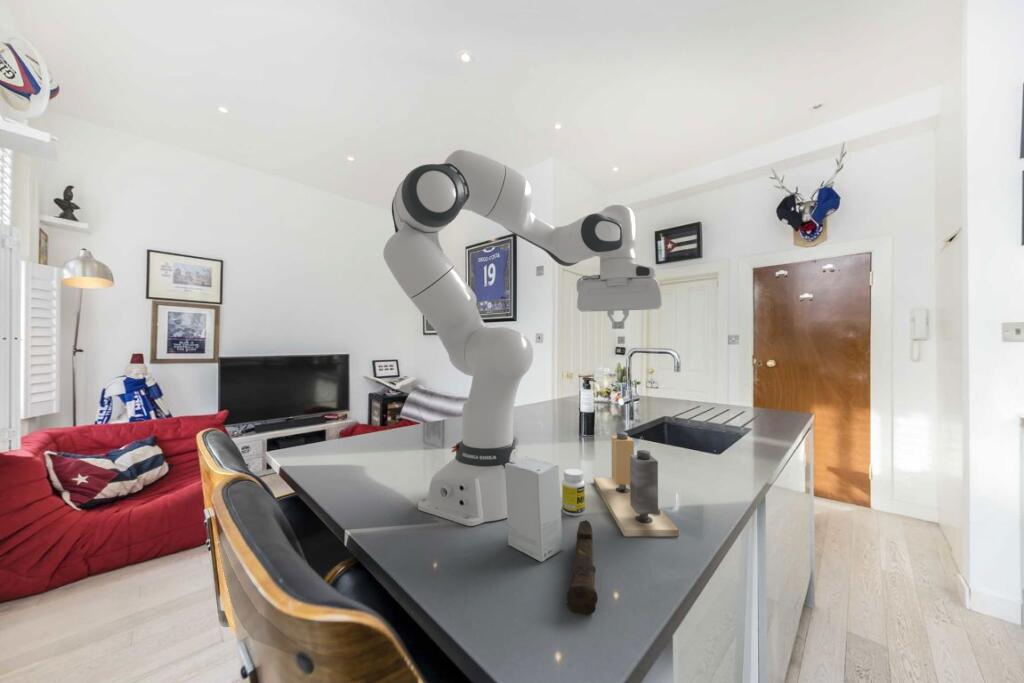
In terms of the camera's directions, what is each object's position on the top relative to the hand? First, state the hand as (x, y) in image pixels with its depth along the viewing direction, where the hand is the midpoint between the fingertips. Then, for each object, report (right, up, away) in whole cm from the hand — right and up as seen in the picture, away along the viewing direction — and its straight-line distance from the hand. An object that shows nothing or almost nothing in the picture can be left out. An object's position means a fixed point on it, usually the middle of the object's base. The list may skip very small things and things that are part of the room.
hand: (618, 328), depth 92 cm
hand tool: (-16, -40, -34) cm, 55 cm away
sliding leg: (-1, -38, -6) cm, 38 cm away
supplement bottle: (-14, -39, -14) cm, 44 cm away
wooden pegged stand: (-1, -39, -11) cm, 41 cm away
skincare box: (-23, -40, -28) cm, 53 cm away
